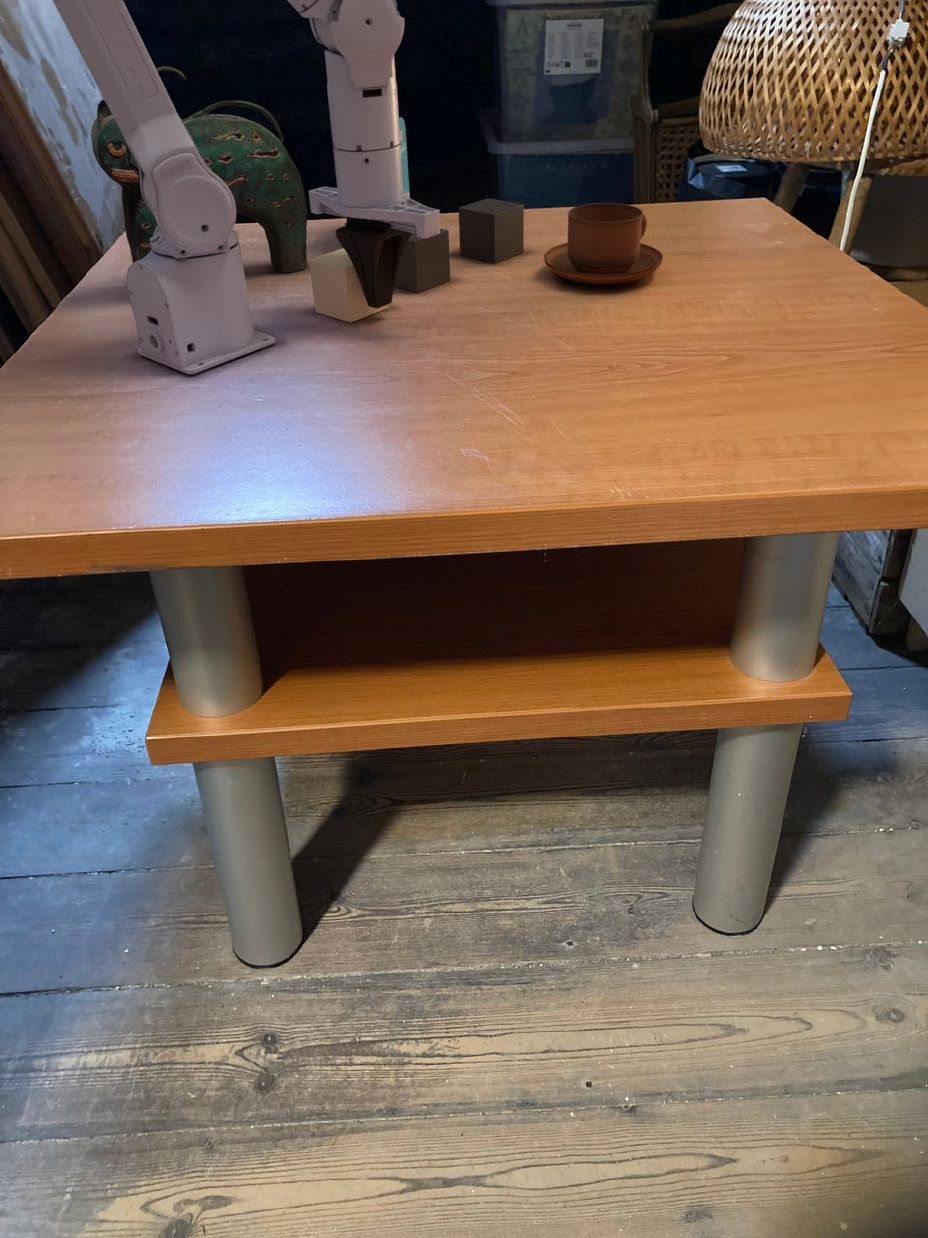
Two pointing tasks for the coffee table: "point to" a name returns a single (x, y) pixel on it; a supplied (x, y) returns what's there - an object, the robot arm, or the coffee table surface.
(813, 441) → the coffee table surface
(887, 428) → the coffee table surface
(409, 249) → the middle block
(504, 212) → the far block
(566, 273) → the cup and saucer
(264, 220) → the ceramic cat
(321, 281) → the cream block
